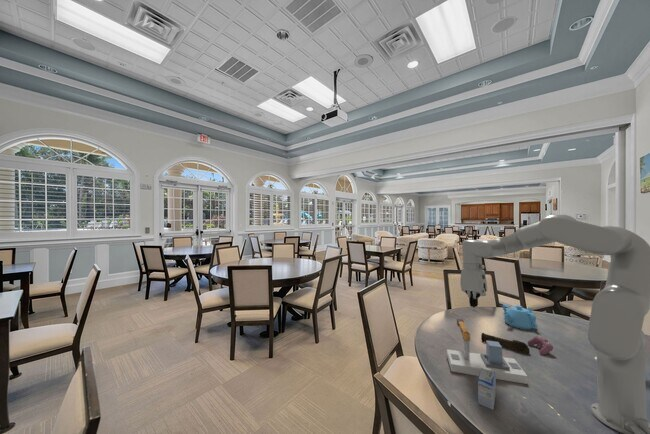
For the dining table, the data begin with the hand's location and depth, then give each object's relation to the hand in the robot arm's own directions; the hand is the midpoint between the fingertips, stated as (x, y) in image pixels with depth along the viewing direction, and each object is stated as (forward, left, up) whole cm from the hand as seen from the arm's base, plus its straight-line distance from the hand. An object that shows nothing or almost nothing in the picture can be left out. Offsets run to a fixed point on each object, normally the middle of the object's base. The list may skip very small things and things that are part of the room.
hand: (473, 306), depth 112 cm
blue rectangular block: (-10, -5, -20) cm, 22 cm away
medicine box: (-30, +3, -23) cm, 38 cm away
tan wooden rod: (-3, +5, -11) cm, 13 cm away
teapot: (+44, -33, -23) cm, 59 cm away
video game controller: (+14, -30, -23) cm, 41 cm away
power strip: (-10, -1, -23) cm, 25 cm away
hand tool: (+14, -16, -23) cm, 31 cm away
